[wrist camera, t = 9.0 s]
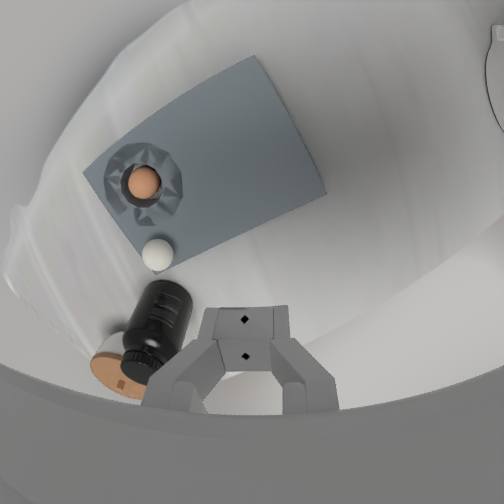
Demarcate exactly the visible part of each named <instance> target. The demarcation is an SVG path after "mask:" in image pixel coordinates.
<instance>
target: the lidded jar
mask: <svg viewBox="0 0 504 504" xmlns="http://www.w3.org/2000/svg"><path fill="white" fill-rule="evenodd" d="M123 333H124V331H121V332H117V333H114V334H112V335H110V336H109V337H108V338H106V339H105V340H104V341H103V343H102V344H101V345H100V347H99V348H98V350H97V352H96V354H95V355H94V356H93V358H92V360H91V362H90V367H91V370H92V372H93V374H94V376H95V377H96V378H97V379H98V380H99V381H100V382H101V383H102V384H103V385H105V386H106V387H108V388H109V389H111V390H112V391H114V392H116V393H118V394H120V395H123V396H126V397H129V398H133V399H139V400H142V399H143V396H144V393H145V390H146V387H147V386H145V385H142V384H138V383H136V382H134V381H132V380H131V379H129V378H128V377H127V376H125V375H124V374H123V372H122V371H121V368H120V364H121V361H122V358H123V354H124V352H125V349H124V347H123V343H122V336H123Z"/></svg>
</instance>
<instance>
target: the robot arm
mask: <svg viewBox="0 0 504 504" xmlns="http://www.w3.org/2000/svg"><path fill="white" fill-rule="evenodd" d="M486 78H487V87H488V92H489V97H490V101H491V104H492V107H493V110H494V113H495V115H496V118H497V120H498V122H499V124H500V126H501V127H502V129H503V130H504V26H502V25H496V24H494V25H492V44H491V47H490V50H489V52H488V56H487V62H486ZM233 371H272V373H273V375H274V376H275V378H276V379H277V380H278V382H279V383H280V385H281V386H282V388H283V414H282V415H220V414H208V413H207V411H206V409H205V407H204V405H203V403H202V401H203V400H204V399H205V398H206V396H207V395H208V394H209V393H210V391H211V390H212V389H213V388H214V387H215V385H216V384H217V383H218V382H219V381H220V379H221V378H222V377H223V376H224V374H225V373H226V372H233ZM0 504H504V365H503V366H501V367H499V368H497V369H494V370H492V371H490V372H487V373H484V374H482V375H479V376H477V377H474V378H471V379H469V380H466V381H463V382H460V383H457V384H454V385H451V386H448V387H445V388H442V389H438V390H435V391H432V392H428V393H424V394H420V395H417V396H412V397H409V398H404V399H400V400H395V401H391V402H386V403H381V404H375V405H370V406H364V407H358V408H351V409H343V410H339V404H338V397H337V391H336V384H335V379H334V377H333V376H332V375H331V374H330V373H328V371H326V370H325V368H324V367H322V365H321V364H320V363H319V362H318V361H317V360H316V359H315V358H314V357H312V355H311V354H310V353H308V351H307V350H306V349H305V348H304V347H303V346H302V345H301V344H300V343H299V342H298V341H297V340H296V339H295V338H290V326H289V313H288V306H287V305H281V306H274V309H273V306H268V307H247V308H206V309H205V311H204V315H203V319H202V323H201V327H200V331H199V335H198V338H197V340H192V341H191V342H190V343H189V344H188V345H187V346H186V347H184V348H183V349H182V350H181V351H180V352H179V353H177V354H176V355H175V356H174V357H173V358H172V359H170V360H169V361H168V362H167V363H166V364H165V365H163V366H162V367H161V368H160V369H159V370H158V371H156V372H155V373H154V374H153V375H152V376H150V378H149V381H148V384H147V387H146V390H145V393H144V396H143V399H142V402H141V405H140V406H139V405H134V404H128V403H123V402H118V401H114V400H109V399H104V398H101V397H96V396H92V395H88V394H85V393H81V392H77V391H74V390H71V389H67V388H64V387H61V386H58V385H55V384H52V383H49V382H46V381H43V380H40V379H37V378H34V377H32V376H29V375H27V374H24V373H22V372H19V371H17V370H14V369H12V368H9V367H7V366H5V365H3V364H1V363H0Z"/></svg>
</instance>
